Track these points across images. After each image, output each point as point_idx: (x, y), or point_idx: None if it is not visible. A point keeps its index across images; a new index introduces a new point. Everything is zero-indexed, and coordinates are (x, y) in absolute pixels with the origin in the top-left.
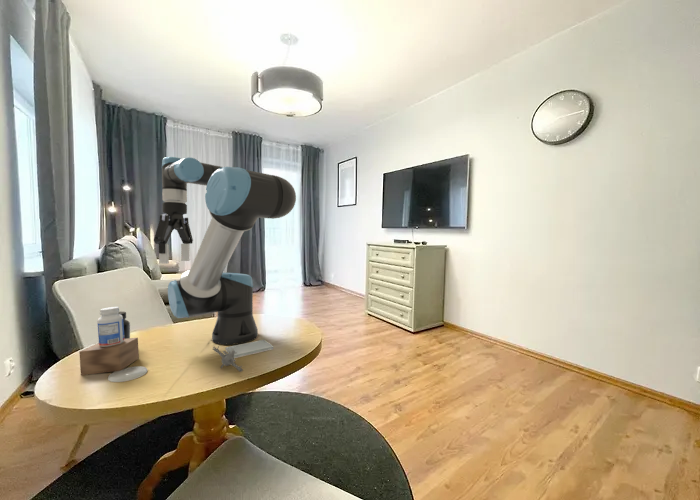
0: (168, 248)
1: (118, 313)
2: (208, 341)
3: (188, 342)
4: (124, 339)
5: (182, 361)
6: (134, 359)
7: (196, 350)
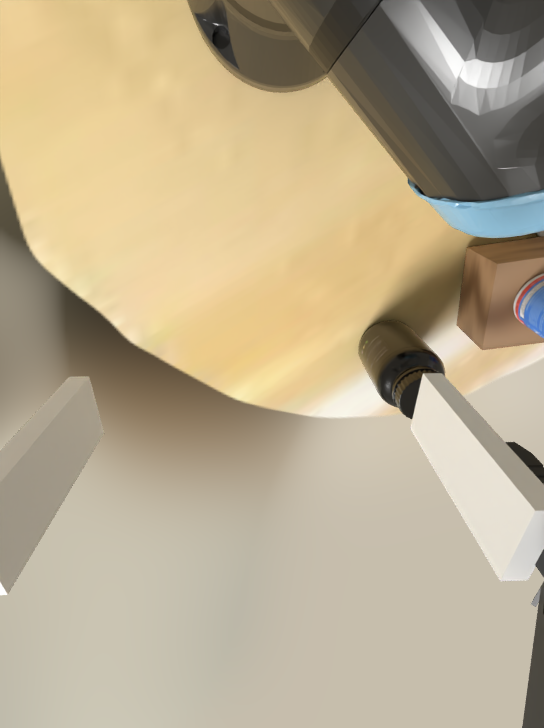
0: (498, 465)
1: None
2: (323, 97)
3: (328, 177)
4: (538, 277)
5: None
6: (492, 245)
7: None
